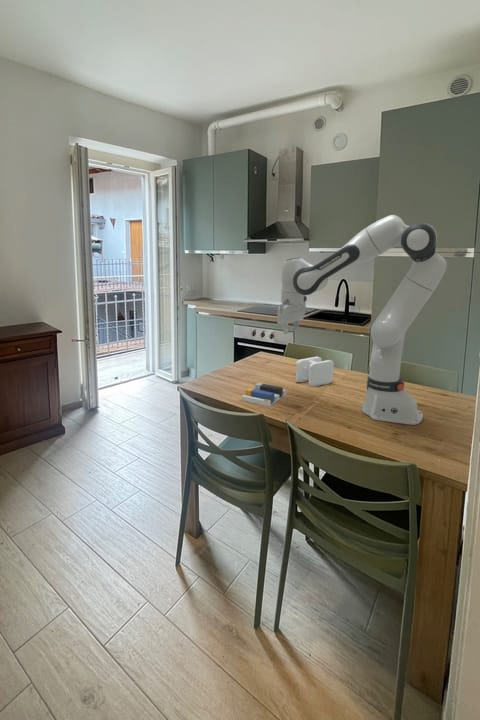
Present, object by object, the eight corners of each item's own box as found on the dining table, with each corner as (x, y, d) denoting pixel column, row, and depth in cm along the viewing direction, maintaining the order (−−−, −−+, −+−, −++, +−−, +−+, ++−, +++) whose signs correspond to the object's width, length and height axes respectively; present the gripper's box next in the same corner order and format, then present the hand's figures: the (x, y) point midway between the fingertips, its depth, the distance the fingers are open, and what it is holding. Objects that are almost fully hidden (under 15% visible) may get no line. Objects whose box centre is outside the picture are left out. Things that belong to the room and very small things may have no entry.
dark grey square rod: (282, 396, 175) (282, 387, 174) (279, 398, 173) (279, 389, 172) (258, 391, 181) (258, 382, 180) (254, 393, 179) (255, 384, 178)
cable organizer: (308, 388, 187) (310, 364, 184) (294, 382, 196) (295, 359, 193) (333, 383, 194) (334, 360, 191) (318, 377, 203) (319, 355, 200)
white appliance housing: (285, 396, 177) (286, 389, 176) (269, 408, 164) (269, 401, 163) (259, 391, 184) (260, 384, 183) (241, 402, 171) (241, 395, 170)
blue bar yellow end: (274, 401, 169) (274, 392, 167) (270, 404, 166) (270, 395, 165) (249, 396, 175) (249, 387, 174) (245, 398, 172) (245, 389, 171)
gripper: (288, 302, 155) (287, 337, 158) (308, 296, 171) (307, 328, 175) (273, 301, 158) (272, 335, 162) (295, 295, 175) (293, 327, 178)
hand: (290, 331), depth 169 cm, fingers open, 8 cm apart
